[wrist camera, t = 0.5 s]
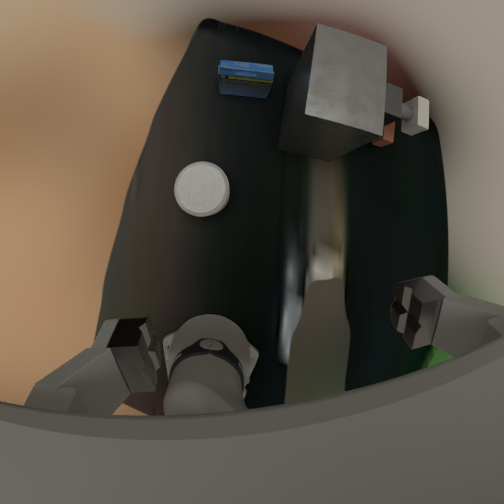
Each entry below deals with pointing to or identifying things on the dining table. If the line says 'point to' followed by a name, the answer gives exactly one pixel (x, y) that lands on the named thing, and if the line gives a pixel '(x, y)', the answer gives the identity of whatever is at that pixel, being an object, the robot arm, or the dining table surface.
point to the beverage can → (202, 189)
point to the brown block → (385, 136)
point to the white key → (415, 115)
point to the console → (337, 96)
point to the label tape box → (245, 78)
